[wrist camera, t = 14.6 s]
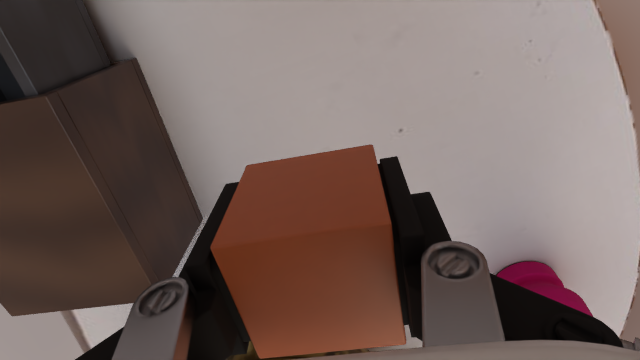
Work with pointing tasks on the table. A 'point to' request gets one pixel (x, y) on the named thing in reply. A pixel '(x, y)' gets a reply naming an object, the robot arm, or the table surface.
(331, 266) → the block
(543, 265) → the pepper mill
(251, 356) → the ceramic bowl
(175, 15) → the table surface
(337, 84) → the table surface
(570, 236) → the table surface
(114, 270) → the cabinet
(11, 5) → the drawer
